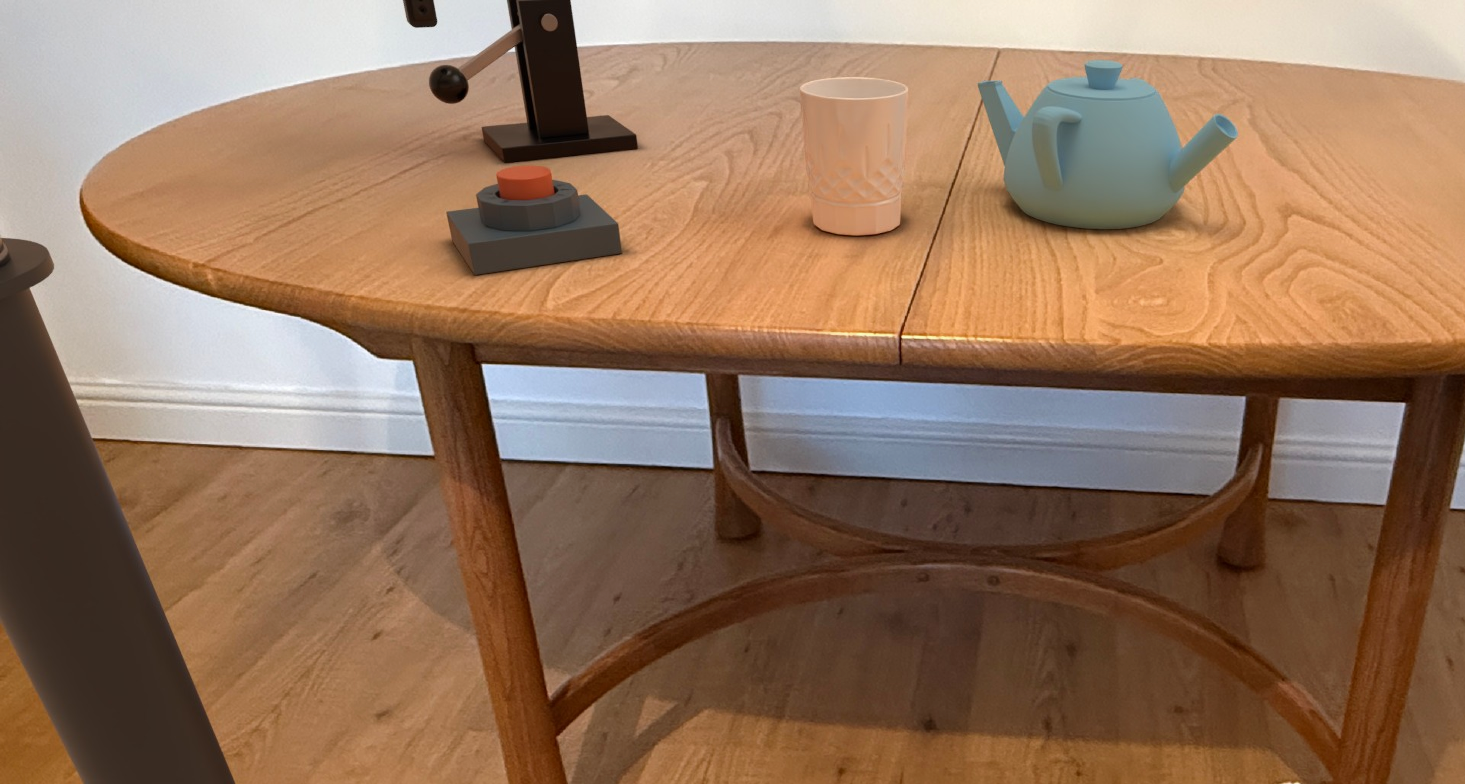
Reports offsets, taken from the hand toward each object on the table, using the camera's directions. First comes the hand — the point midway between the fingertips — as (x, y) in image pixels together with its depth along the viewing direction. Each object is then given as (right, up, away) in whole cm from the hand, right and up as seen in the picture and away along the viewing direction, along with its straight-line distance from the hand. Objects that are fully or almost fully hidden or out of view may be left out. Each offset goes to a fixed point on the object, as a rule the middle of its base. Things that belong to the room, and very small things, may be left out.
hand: (423, 25), depth 97 cm
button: (+15, -19, -17) cm, 30 cm away
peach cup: (+38, -19, -9) cm, 43 cm away
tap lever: (+5, -2, +5) cm, 7 cm away
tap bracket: (+8, -7, +10) cm, 15 cm away
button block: (+15, -22, -15) cm, 31 cm away
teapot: (+56, -17, -4) cm, 59 cm away
